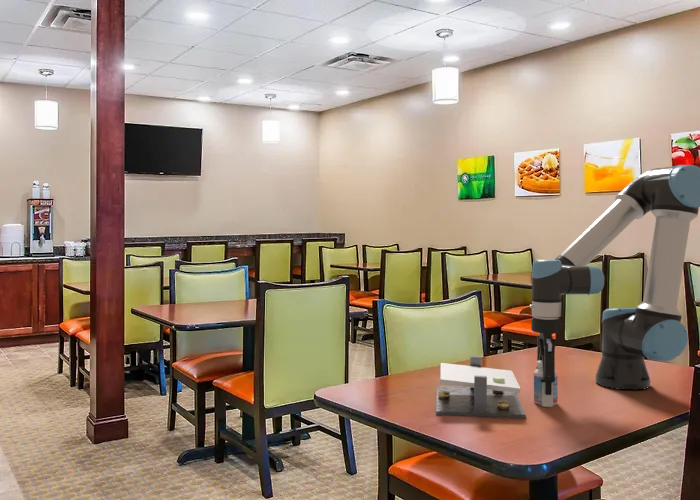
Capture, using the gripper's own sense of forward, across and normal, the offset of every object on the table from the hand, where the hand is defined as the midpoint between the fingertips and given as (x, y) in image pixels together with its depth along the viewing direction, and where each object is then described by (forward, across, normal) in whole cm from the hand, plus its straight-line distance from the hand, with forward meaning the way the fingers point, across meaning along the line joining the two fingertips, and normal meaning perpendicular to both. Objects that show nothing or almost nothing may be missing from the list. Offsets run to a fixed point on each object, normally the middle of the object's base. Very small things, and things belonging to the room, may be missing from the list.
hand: (545, 402), depth 172 cm
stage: (-7, +2, -18) cm, 19 cm away
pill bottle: (0, 0, 0) cm, 0 cm away
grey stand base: (0, +2, -18) cm, 18 cm away
